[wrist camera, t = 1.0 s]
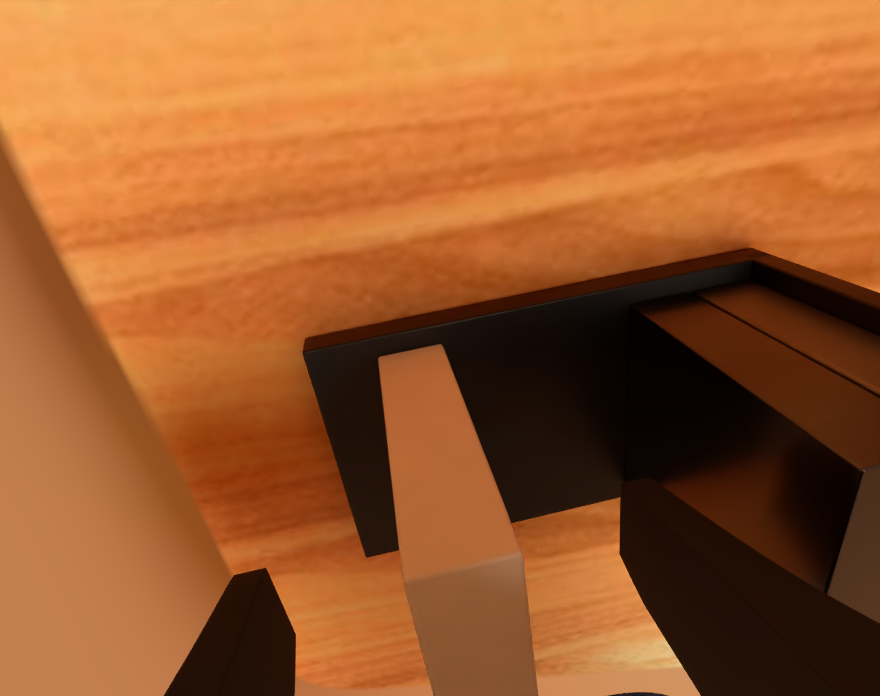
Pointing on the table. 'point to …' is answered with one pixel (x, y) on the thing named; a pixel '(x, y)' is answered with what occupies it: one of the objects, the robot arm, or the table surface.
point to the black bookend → (652, 405)
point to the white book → (454, 535)
